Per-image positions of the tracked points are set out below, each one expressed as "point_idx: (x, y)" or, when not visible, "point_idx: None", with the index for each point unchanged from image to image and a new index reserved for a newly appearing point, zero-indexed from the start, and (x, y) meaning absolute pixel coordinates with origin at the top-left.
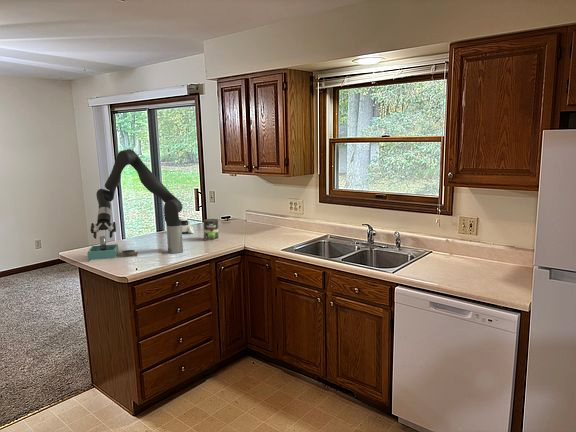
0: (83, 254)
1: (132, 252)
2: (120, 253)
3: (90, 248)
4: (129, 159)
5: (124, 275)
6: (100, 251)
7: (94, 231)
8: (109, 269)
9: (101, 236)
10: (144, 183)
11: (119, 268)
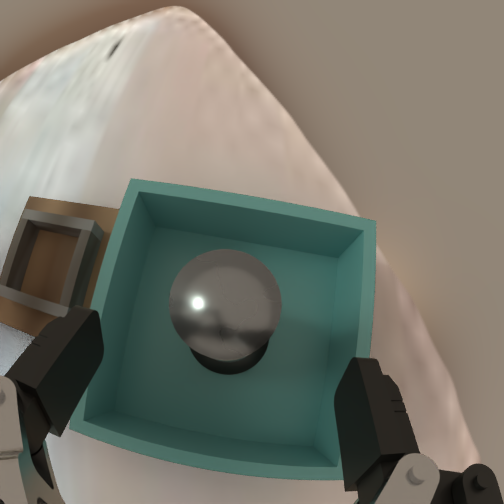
0: None
1: (28, 211)
2: None
3: None
4: None
5: (178, 12)
6: (260, 199)
7: (416, 463)
8: (217, 66)
9: (244, 322)
10: None
11: (172, 65)
